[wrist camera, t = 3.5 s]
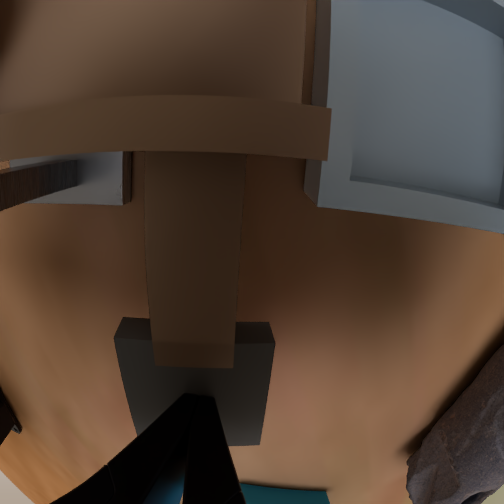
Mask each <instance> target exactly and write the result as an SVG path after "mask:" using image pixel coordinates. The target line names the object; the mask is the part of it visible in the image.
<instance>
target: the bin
mask: <svg viewBox="0 0 504 504" xmlns="http://www.w3.org/2000/svg"><path fill="white" fill-rule="evenodd" d="M311 105H314V106H320V107H326V108H332V114H331V127H330V139H329V150H328V160H327V161H320V160H311V159H307V160H306V171H305V181H304V192H305V193H306V194H307V196H308V197H309V198H310V199H311V200H312V201H313V202H314V204H315V205H316V206H317V207H324V208H333V209H342V210H351V211H359V212H367V213H375V214H383V215H390V216H398V217H405V218H412V219H419V220H426V221H432V222H439V223H445V224H451V225H457V226H463V227H469V228H475V229H480V230H486V231H491V232H497V233H502V234H504V0H316V29H315V51H314V69H313V85H312V100H311Z"/></svg>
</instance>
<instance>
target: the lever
mask: <svg viewBox="0 0 504 504" xmlns="http://www.w3.org/2000/svg"><path fill="white" fill-rule="evenodd" d="M306 13H307V0H0V161H7V160H15V159H23V158H32V157H41V156H52V155H64V154H78V153H95V152H119V151H145V175H144V224H145V256H146V275H147V290H148V303H149V315H150V319H145V318H129V317H123V318H122V320H121V323H120V325H119V327H118V329H117V331H116V334H115V336H114V342H115V348H116V353H117V358H118V362H119V367H120V371H121V376H122V380H123V384H124V389H125V393H126V397H127V401H128V404H129V408H130V412H131V415H132V419H133V422H134V426H135V429H136V433H137V436H138V435H140V434H141V433H142V432H143V431H144V430H145V429H146V428H147V427H148V426H149V425H150V424H151V423H153V422H154V421H155V420H156V419H157V418H158V417H159V416H160V415H161V414H162V413H163V412H164V411H165V410H166V409H168V408H169V407H170V406H171V405H172V404H173V403H174V402H175V401H176V400H177V399H178V398H179V397H180V396H181V395H182V394H184V393H191V394H197V395H198V396H199V397H200V396H201V395H205V396H212V397H214V398H215V400H216V404H217V408H218V411H219V415H220V419H221V422H222V426H223V430H224V433H225V437H226V440H227V444H228V446H248V445H260V439H261V434H262V428H263V421H264V415H265V409H266V403H267V396H268V390H269V383H270V377H271V370H272V363H273V356H274V349H275V340H274V337H273V334H272V330H271V327H270V324H269V322H236V309H237V293H238V276H239V260H240V245H241V230H242V215H243V200H244V186H245V172H246V158H247V154H257V155H270V156H282V157H292V158H302V159H311V160H320V161H327V160H328V150H329V139H330V127H331V114H332V108H326V107H320V106H314V105H307V104H301V99H302V85H303V69H304V53H305V34H306Z"/></svg>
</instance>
